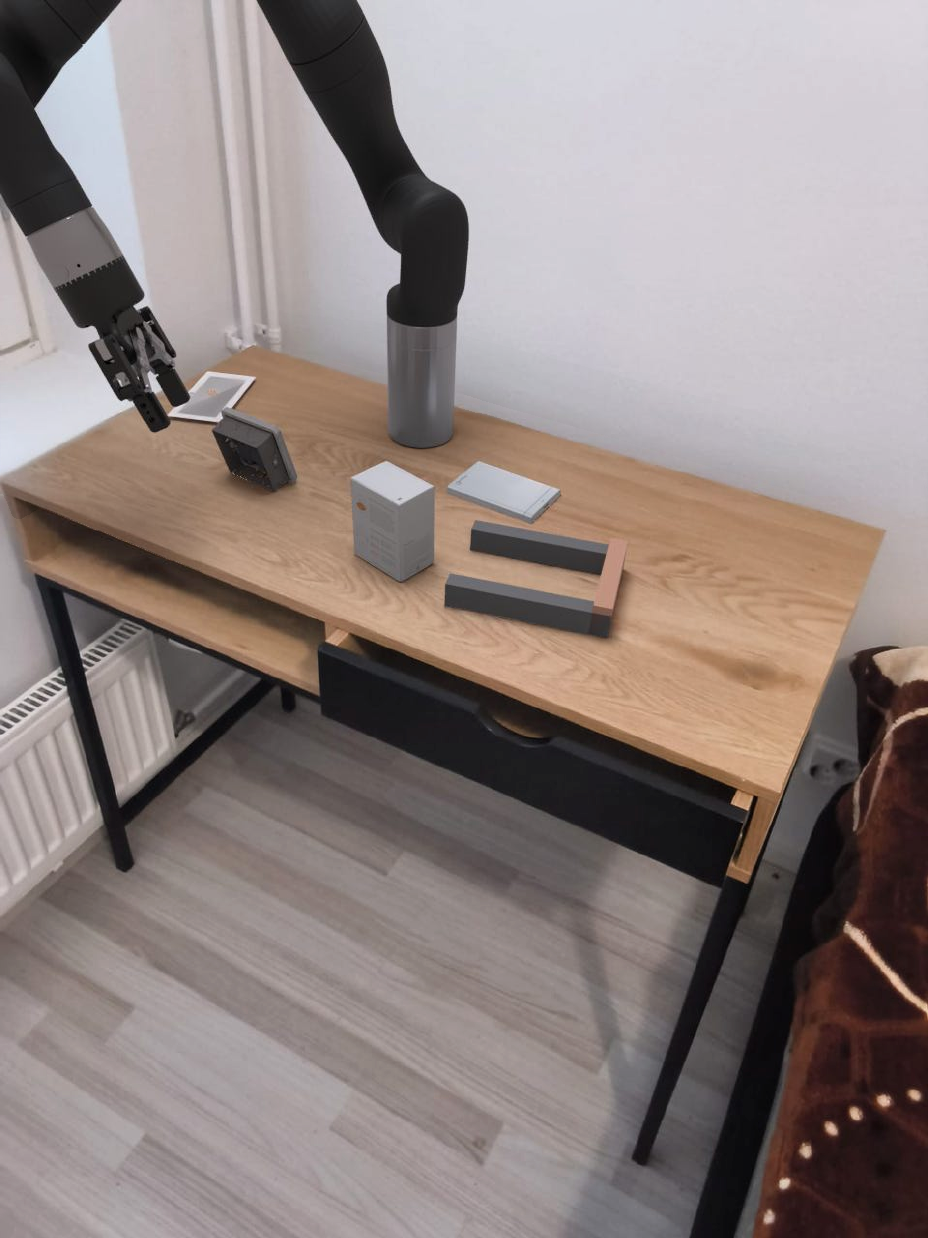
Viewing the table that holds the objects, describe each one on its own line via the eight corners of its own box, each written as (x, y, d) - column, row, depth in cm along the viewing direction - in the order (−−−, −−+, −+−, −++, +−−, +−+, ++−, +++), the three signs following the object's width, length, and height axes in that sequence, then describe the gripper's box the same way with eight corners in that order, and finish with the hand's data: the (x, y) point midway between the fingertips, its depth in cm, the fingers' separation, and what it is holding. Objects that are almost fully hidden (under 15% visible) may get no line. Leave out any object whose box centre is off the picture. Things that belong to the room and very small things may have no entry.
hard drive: (446, 485, 118) (531, 516, 113) (479, 459, 123) (561, 487, 118) (446, 496, 119) (530, 527, 114) (478, 470, 124) (560, 498, 119)
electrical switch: (299, 482, 119) (289, 420, 113) (273, 502, 116) (260, 440, 109) (246, 460, 123) (232, 399, 116) (219, 480, 120) (203, 418, 113)
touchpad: (256, 383, 141) (255, 370, 140) (220, 429, 130) (218, 415, 128) (208, 377, 142) (206, 364, 141) (168, 422, 131) (165, 408, 129)
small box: (435, 564, 106) (437, 486, 100) (400, 584, 103) (399, 505, 96) (387, 535, 110) (386, 458, 104) (352, 554, 107) (349, 476, 101)
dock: (474, 540, 110) (475, 512, 108) (623, 568, 107) (628, 540, 105) (444, 605, 101) (445, 576, 98) (607, 638, 97) (612, 609, 95)
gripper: (95, 265, 84) (188, 424, 91) (139, 241, 96) (217, 383, 104) (26, 298, 85) (123, 452, 93) (78, 269, 97) (160, 408, 105)
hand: (172, 415), depth 98 cm, fingers open, 8 cm apart
